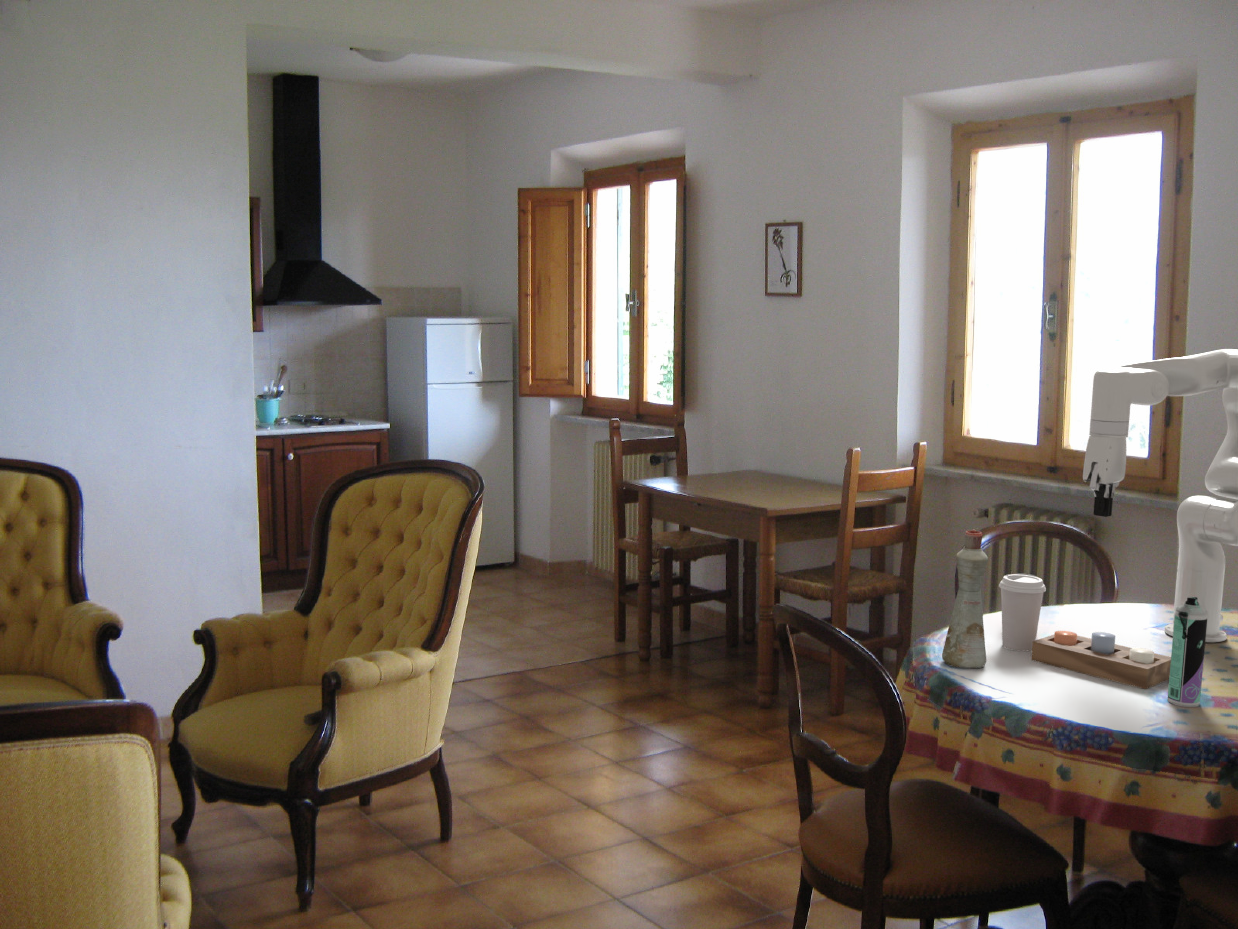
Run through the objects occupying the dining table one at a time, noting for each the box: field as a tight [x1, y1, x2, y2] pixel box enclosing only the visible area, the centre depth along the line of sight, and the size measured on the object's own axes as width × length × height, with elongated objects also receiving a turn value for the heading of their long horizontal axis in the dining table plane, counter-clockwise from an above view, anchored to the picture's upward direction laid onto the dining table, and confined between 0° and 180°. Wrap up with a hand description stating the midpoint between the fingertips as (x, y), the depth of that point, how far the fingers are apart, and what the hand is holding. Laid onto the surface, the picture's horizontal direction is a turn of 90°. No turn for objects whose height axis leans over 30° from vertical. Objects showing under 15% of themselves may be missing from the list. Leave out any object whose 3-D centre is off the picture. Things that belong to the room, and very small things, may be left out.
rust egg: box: [1053, 630, 1078, 646], centre depth 251 cm, size 4×4×5 cm
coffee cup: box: [998, 573, 1047, 652], centre depth 259 cm, size 10×10×15 cm
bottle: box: [941, 528, 989, 669], centre depth 244 cm, size 9×9×28 cm
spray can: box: [1167, 597, 1208, 708], centre depth 224 cm, size 6×6×20 cm
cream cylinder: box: [1129, 647, 1155, 664], centre depth 239 cm, size 4×4×5 cm
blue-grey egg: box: [1091, 631, 1116, 655], centre depth 245 cm, size 4×4×5 cm
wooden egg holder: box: [1030, 634, 1171, 690], centre depth 245 cm, size 12×24×4 cm, turn 42°
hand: (1102, 515), depth 256 cm, fingers closed
